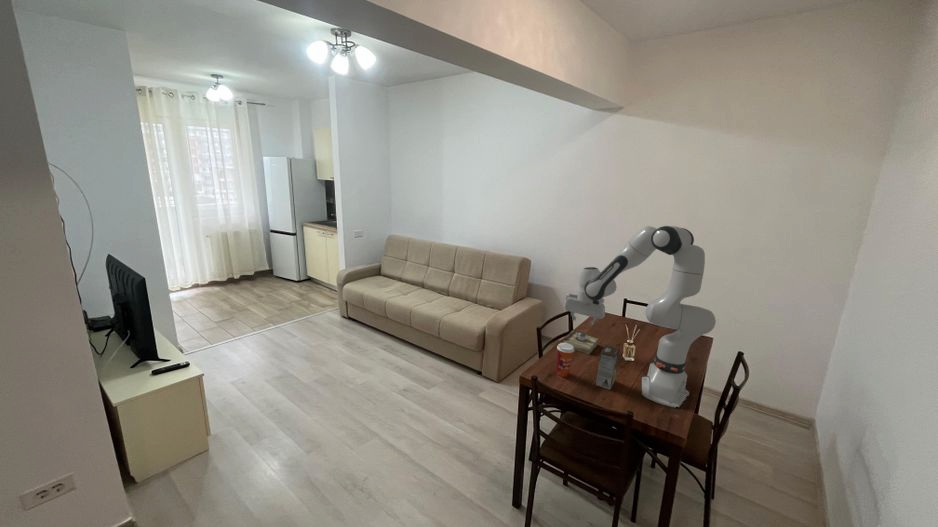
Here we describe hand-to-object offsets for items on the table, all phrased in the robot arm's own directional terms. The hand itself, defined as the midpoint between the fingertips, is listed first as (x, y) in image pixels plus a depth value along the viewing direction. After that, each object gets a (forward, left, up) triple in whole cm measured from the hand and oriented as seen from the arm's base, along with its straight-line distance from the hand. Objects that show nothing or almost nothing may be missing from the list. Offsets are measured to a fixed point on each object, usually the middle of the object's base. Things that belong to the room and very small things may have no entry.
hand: (582, 322), depth 195 cm
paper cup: (-33, -3, -14) cm, 36 cm away
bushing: (+2, 0, -14) cm, 14 cm away
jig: (+1, 0, -14) cm, 14 cm away
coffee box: (-28, -21, -14) cm, 38 cm away
